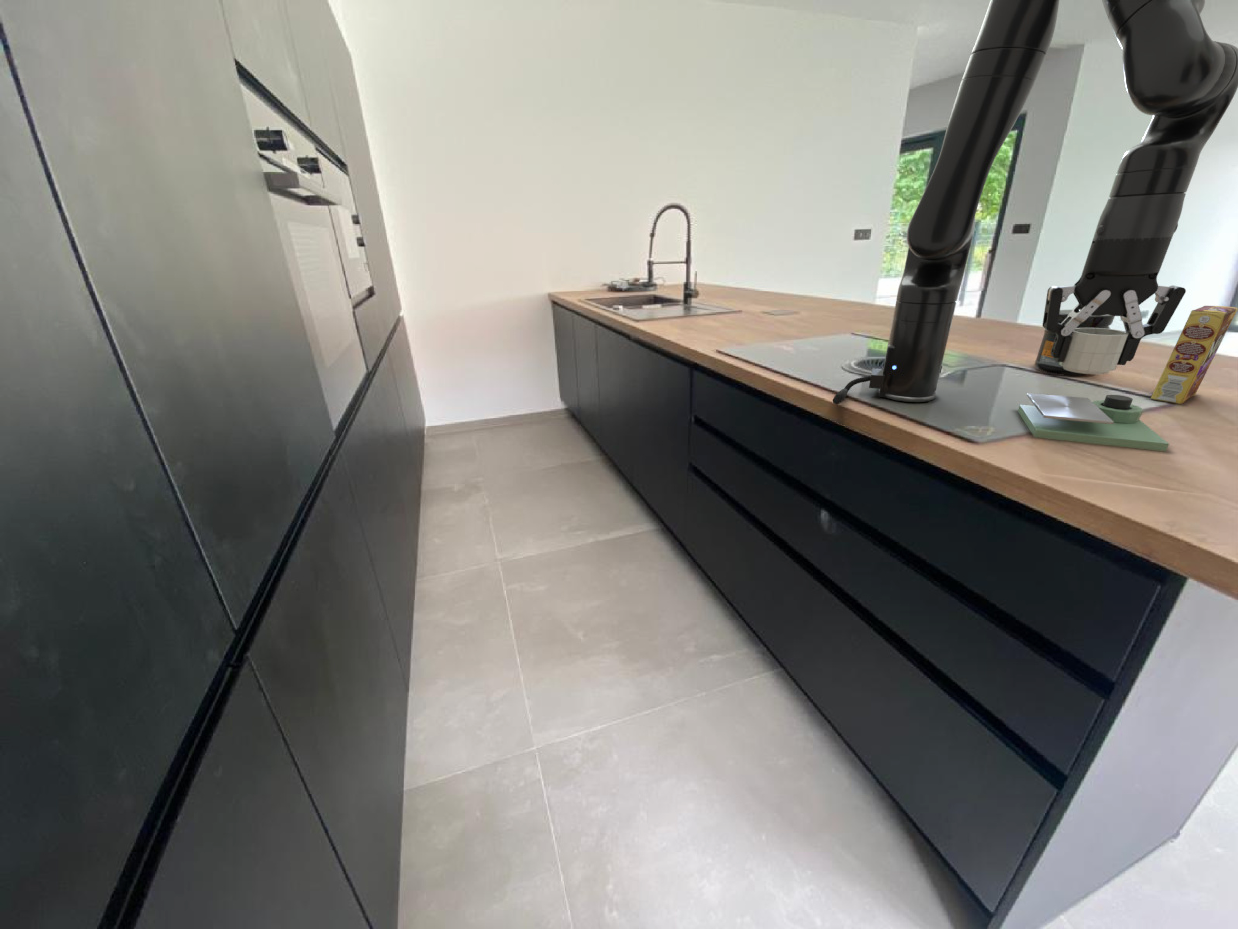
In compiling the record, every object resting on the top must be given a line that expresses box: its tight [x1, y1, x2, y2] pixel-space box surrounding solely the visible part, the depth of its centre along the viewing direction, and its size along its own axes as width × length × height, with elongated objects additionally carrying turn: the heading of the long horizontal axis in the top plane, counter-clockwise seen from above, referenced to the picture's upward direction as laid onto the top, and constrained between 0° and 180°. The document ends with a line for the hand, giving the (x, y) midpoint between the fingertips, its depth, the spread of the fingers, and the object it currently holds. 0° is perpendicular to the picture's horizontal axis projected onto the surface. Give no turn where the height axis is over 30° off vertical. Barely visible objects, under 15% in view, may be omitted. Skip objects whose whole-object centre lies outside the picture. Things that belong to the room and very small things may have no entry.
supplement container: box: [1034, 309, 1116, 377], centre depth 104 cm, size 10×10×12 cm
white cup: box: [1059, 328, 1129, 375], centre depth 71 cm, size 6×6×6 cm
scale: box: [1017, 399, 1170, 452], centre depth 76 cm, size 14×14×3 cm
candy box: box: [1150, 305, 1238, 405], centre depth 85 cm, size 9×4×15 cm, turn 123°
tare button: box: [1103, 394, 1133, 410], centre depth 77 cm, size 3×3×2 cm
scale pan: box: [1026, 392, 1114, 424], centre depth 77 cm, size 8×12×1 cm, turn 153°
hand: (1088, 362), depth 72 cm, fingers closed on white cup, 6 cm apart
